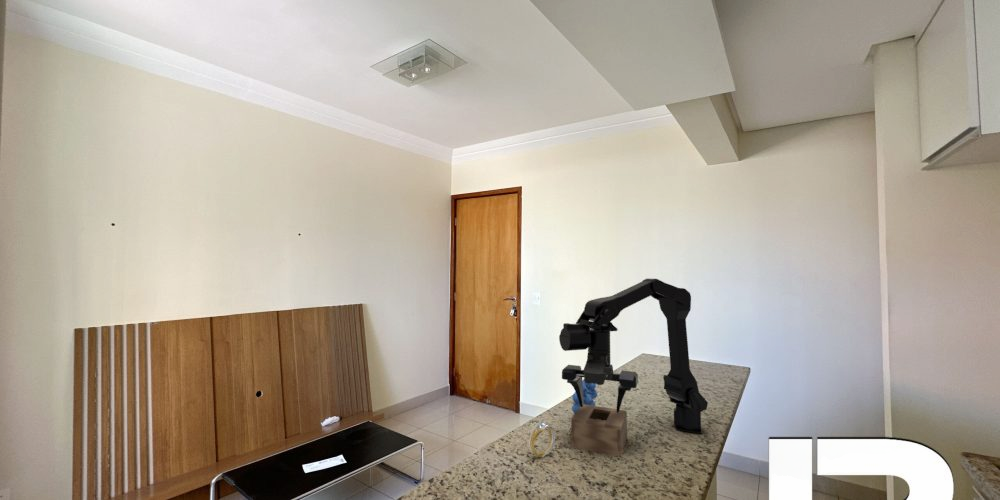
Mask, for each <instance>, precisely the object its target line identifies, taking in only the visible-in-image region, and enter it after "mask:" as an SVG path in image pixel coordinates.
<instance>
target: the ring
mask: <svg viewBox="0 0 1000 500" xmlns="http://www.w3.org/2000/svg"><path fill="white" fill-rule="evenodd" d="M547 423H548V422H547V421H545V422H544V423H543V422H542V421H541V420H540V421H538V422H537V423H536V424H535V425H534V427H532V429H531V432H530V435H529V441H528V445H529V449H530V451H531V453H532V454H533V455H534V456H536V457H538V458H545V457H546V456H547V455H549V454H550V452H551V451H552V450H553V447H554V446H555V440H556V436H555V430H554V429H553V426H550V425H548V424H547ZM544 430H546V431H547V432H548V435H549V444H548V447H547V448H546V449H545V450H544V451H539V452H537V451H536V449H535V442H536V440H537V438H538V437H539V436H540V434H541V433H542V432H543V431H544Z"/></svg>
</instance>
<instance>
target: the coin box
mask: <svg viewBox="0 0 1000 500" xmlns="http://www.w3.org/2000/svg"><path fill="white" fill-rule="evenodd" d="M627 412H628V411H627V410H625V409H620V410H619V412H618V413H617V408H610V407H606V406H605V407H604V406H597V405H595V406H592V405H585V404H583V407H581V406H580V407H579V409H578V410H577V412H576V413H575V414H574V413H573V416H572V417H571V419H570V420H571V422H570V427H571V428H570V431H571V433H570V434H571V435H570V438H571V444H570V445H571V448H574V449H578V450H584V451H588V452H589V451H590V452H594V453H600V454H605V455H610V456H615V457H620V458H621V457H622V455H623V452H624V449H625V446H626V442H627V438H628V413H627ZM597 419H602V420H597ZM604 420H606V421H604Z"/></svg>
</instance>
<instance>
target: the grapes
mask: <svg viewBox="0 0 1000 500" xmlns="http://www.w3.org/2000/svg"><path fill="white" fill-rule="evenodd" d="M582 381H583V404H585V405H592V406H596V403H595V399H597V397H598V392H597V390H596V387H597V384H593V383H590V384H588V383H585V381H584V378H582ZM571 397H572V401H573V402H574V403H573V404H572V406H571V410H572V413H573V415H574V414H575V413H576V412H577V410H578V409H579V407H580V403H579V400H578V397H577V394H576V392H575V391H574V393H573V394H572V396H571Z"/></svg>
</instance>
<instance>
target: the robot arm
mask: <svg viewBox="0 0 1000 500" xmlns="http://www.w3.org/2000/svg"><path fill="white" fill-rule="evenodd" d="M649 297H652V298H653V299H654V300H657V301H658V303H659V308H660V310H661V312H662V314H663V315H664V317H665V318H666V326H667V327H666V328H667V337H668V339H667V340H668V351H669V363H670V369H669V371H668V374H663V382H664V383H663V385H664V386H663V390H665V393H666V395H668V397H669V401H670V403H673V404H675V407H674V408H673V425H674V426H675V430H676V431H680V432H687V433H692V434H699V435H700V434H701V435H702V434H703V430H702V414H701V413H703V412H704V411H706V410H707V409H708V408H707V407H708V402H709V401H707V400H706V398H705V397H704V396H703V395H702V394H701V393H700V390H699V386H698V381H697V379H696V378H695V376H694V375H693V372H692V371H691V369H690V367H691V366H690V357H689V344H688V343H689V342H688V332H687V321H686V320H687V317H688V315H689V313H690V312H691V307H692V295H691V292H690V291H688V290H687V289H686V288H685V287H684V288H682V287H677V286H674V285H672V284H669V283H667V282H664V281H662V280H660V279H658V278H645V279H643V280H642V281H640V282H637V283H636V284H634V285H632V286H629V287H627V288H625V289H623V290H621V291H619V292H616V293H615V294H613V295H611V296H604V297H599V298H594V299H590V300H588V301H586V303H585V305H584V307H583V308H584V309H583V311H582V313H581V314H580V315H579V317H578V319H577V321H576V323H567V322H566V323H563V326H562V327H563V328H562V329H561V331H560V334H559V336H558V338H559V339H558V340H559V344H560V345H559V346H560V348H561V349H562V350H563V351H565V352H567V351H580V350H582V351H583V350H587V356H586V357H587V359H586V361H585V364H584V368H583V369H582V367H581V365H575V364H574V365H573V364H568V365H566V366H565V367H563V369H562V371H561V379H562V380H564V381H565V380H566V383H568V384H570V385H571V386H572V387H573V389H574V393H575V392H576V394H577V397H578V400H579V403H580V406H581V407H583V379H584V381H585V383H588V384H590V383H593V384H596V386H602V385H605V381H612V382H618V384H619V385H618V388H617V399H616V401H617V402H616V409H617V413H618V412H619V410H621V406H622V403H623V400H624V396H625V394H626V392H628V391H631V390H632V389H637V385H638V383H639V374H638V373H637V372H636V371H633V370H632V371H629V370H621V371H620V373H614V367H613V364H611V332H618V330H619V329H618V327H616V326H615V325H614V324H613V322H612V321H614V320H615V319H616V318H617V317H619V315H620V313H621V312H623V310H625V309H626V308H629V307H631V306H632V305H634V304H636V303H639V302H641V301H643V300H645V299H647V298H649Z"/></svg>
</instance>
